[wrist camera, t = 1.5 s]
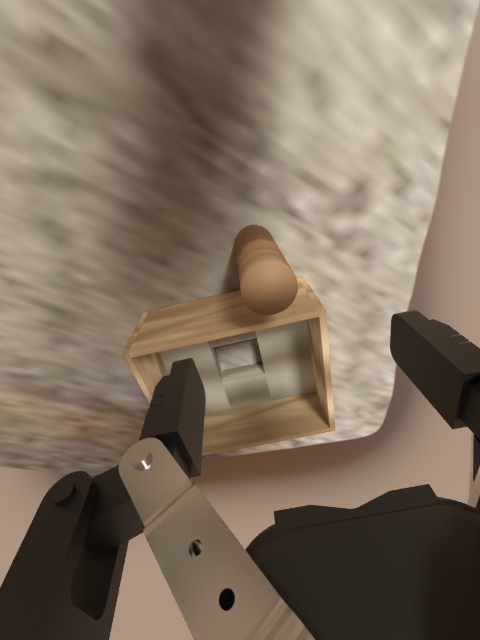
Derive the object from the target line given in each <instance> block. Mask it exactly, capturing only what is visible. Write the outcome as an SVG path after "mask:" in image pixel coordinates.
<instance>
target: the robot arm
mask: <svg viewBox="0 0 480 640" xmlns="http://www.w3.org/2000/svg"><path fill="white" fill-rule="evenodd" d="M390 350H391V354H392V357H393V359H394V360H395V362H396V363H397V364H398V366H399V367H400V368H401V369H402V370H403V371H404V373H405V374H406V375H407V376H408V377H409V378H410V380H411V381H412V382H413V383H414V384H415V385H416V387H417V388H418V389H419V390H420V391H421V393H422V394H423V395H424V396H425V397H426V398H427V400H428V401H429V402H430V403H431V404H432V406H433V407H434V408H435V409H436V410H437V411H438V413H439V414H440V415H441V416H442V417H443V419H444V420H445V421H446V422H447V423H448V424H449V426H450V427H451V428H452V429H456V428H462V427H467V426H468V428H469V429H470V430H471V431H472V435H471V452H470V490H469V498H468V503H467V504H465V503H462V502H458V501H455V500H451V499H446V498H441V497H437V496H436V494H435V493H434V491H433V490H432V488H431V487H430V485H429V484H427V485H421V486H415V487H409V488H404V489H398V490H392V491H389V492H387V493H385V494H383V495H381V496H379V497H377V498H375V499H373V500H371V501H369V502H368V503H366V504H364V505H362V506H360V507H358V508H355V509H346V508H336V507H326V506H316V505H307V506H302V507H296V508H290V509H284V510H279V511H274V517H275V524H274V525H272V526H270V527H268V528H267V529H266V530H264V531H263V532H261V533H260V534H259V535H258V536H257V537H256V538H255V539H254V540H253V541H252V542H251V543H250V544H249V546H248V547H247V548H246V550H245V549H244V548H243V546H242V545H241V544H240V542H239V541H238V540H237V538H236V537H235V536H234V534H233V533H232V532H231V530H230V529H229V528H228V526H227V525H226V524H225V522H224V521H223V520H222V518H221V517H220V516H219V515H218V513H217V512H216V511H215V509H214V508H213V507H212V505H211V504H210V503H209V501H208V500H207V499H206V497H205V496H204V495H203V493H202V492H201V491H200V490H199V488H198V487H197V486H196V484H195V483H192V482H191V481H190V477H195V476H200V473H201V459H202V445H203V431H204V417H205V404H206V395H205V389H204V386H203V383H202V380H201V378H200V375H199V373H198V370H197V368H196V365H195V362H194V360H193V359H192V358H187V359H183V360H178V361H174V362H173V363H172V367H171V371H170V375H167V376H163V377H162V378H161V380H160V381H159V382H158V384H157V385H156V386H155V389H154V392H153V396H152V399H151V402H150V408H149V409H148V413H147V416H146V419H145V423H144V426H143V429H142V433H141V436H140V439H139V441H138V442H137V443H135V444H134V445H132V446H131V447H130V448H129V449H128V450H127V451H126V452H125V454H124V455H123V457H122V458H121V461H120V464H119V465H118V466H116V467H114V468H112V469H110V470H108V471H106V472H104V473H102V474H100V475H98V476H96V477H94V478H91V477H90V476H89V474H88V473H86V472H84V471H77V472H73V473H70V474H68V475H66V476H65V477H63V478H62V479H60V480H59V481H58V482H56V483H55V484H54V485H53V486H52V487H51V488H50V490H49V491H48V492H47V493H46V495H45V496H44V498H43V500H42V502H41V504H40V506H39V508H38V510H37V512H36V514H35V517H34V518H33V521H32V523H31V525H30V527H29V529H28V531H27V533H26V535H25V538H24V539H23V541H22V544H21V546H20V548H19V550H18V552H17V554H16V556H15V558H14V560H13V562H12V564H11V566H10V569H9V571H8V573H7V575H6V577H5V579H4V581H3V583H2V586H1V587H0V640H109V637H110V632H111V627H112V622H113V617H114V612H115V607H116V602H117V597H118V592H119V587H120V582H121V577H122V572H123V566H124V562H125V557H126V552H127V546H128V542H129V540H130V539H132V538H134V537H135V536H137V535H139V534H141V533H143V532H144V534H145V536H146V538H147V541H148V543H149V545H150V547H151V549H152V551H153V553H154V556H155V558H156V560H157V562H158V564H159V566H160V568H161V571H162V573H163V575H164V577H165V579H166V581H167V583H168V585H169V588H170V590H171V591H172V594H173V596H174V598H175V600H176V602H177V604H178V606H179V609H180V611H181V613H182V615H183V617H184V619H185V621H186V623H187V626H188V628H189V630H190V632H191V634H192V636H193V638H194V640H480V348H478V347H477V346H476V345H474V344H473V343H472V342H469V340H468V339H466V338H465V337H464V336H462V335H459V333H458V332H457V331H455V330H454V329H453V328H451V327H450V326H449V325H447V324H444V323H441V322H439V321H436V320H433V319H432V320H428V319H427V318H426V317H425V316H423V315H422V314H421V313H419V312H418V311H417V310H411V311H407V312H402V313H398V314H394V315H393V316H392V319H391V338H390Z"/></svg>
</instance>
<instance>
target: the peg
mask: <svg viewBox="0 0 480 640" xmlns="http://www.w3.org/2000/svg"><path fill="white" fill-rule="evenodd" d="M235 252H236V259H237V267H238V274H239V282H240V290H241V296H242V299H243V302H244V303H245V305H246V306H247V307H248V308H249V309H250V310H252V311H253V312H255V313H258V314H261V315H273V314H277V313H280V312H282V311H284V310H285V309H287V308H288V307H289V306H290V305H291V304H292V303H293V301H294V299H295V298H296V295H297V291H298V282H297V279H296V276H295V274H294V273H293V271H292V269H291V268H290V266H289V265H288V263H287V261H286V260H285V258H284V256H283V255H282V253H281V251H280V250H279V248H278V246H277V245H276V243H275V241H274V240H273V238H272V236H271V235H270V233H269V232H268V231H267V230H266V229H265V228H263V227H261V226H258V225H250V226H247V227H245V228H243V229H242V230H241V231H240V232H239V233H238V235H237V237H236V239H235Z"/></svg>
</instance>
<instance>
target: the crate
mask: <svg viewBox="0 0 480 640" xmlns="http://www.w3.org/2000/svg"><path fill="white" fill-rule="evenodd" d="M296 279H297V282H298V291H297V295H296V298H295V299H294V301H293V303H292V304H291V305H290V306H289V307H288V308H287V309H285V310H284V311H282V312H280V313H277V314H273V315H261V314H258V313H255V312H253V311H252V310H250V309H249V308H248V307H247V306H246V305H245V303H244V302H243V299H242V296H241V290H237V291H232V292H228V293H224V294H219V295H215V296H211V297H206V298H202V299H198V300H193V301H189V302H184V303H180V304H176V305H171V306H167V307H163V308H158V309H154V310H150V311H145V312H143V314H142V316H141V318H140V320H139V322H138V324H137V326H136V328H135V330H134V332H133V334H132V336H131V338H130V340H129V342H128V344H127V346H126V348H125V350H124V352H123V354H122V355H123V357H124V358H125V360H126V362H127V364H128V366H129V368H130V369H131V371H132V373H133V375H134V377H135V378H136V380H137V382H138V384H139V386H140V388H141V389H142V391H143V393H144V395H145V397H146V398H147V400H148V402H149V404H150V402H151V399H152V396H153V392H154V389H155V386H156V385H157V384H158V382H159V381H160V380H161V378H162V377H163V376H167V375H170V371H171V367H172V363H173V362H174V361H178V360H183V359H187V358H192V359H193V360H194V362H195V365H196V368H197V370H198V373H199V375H200V378H201V380H202V383H203V386H204V389H205V395H206V404H205V417H204V431H203V445H202V456H205V455H210V454H215V453H221V452H226V451H231V450H236V449H242V448H247V447H252V446H257V445H263V444H268V443H273V442H278V441H283V440H289V439H294V438H299V437H304V436H310V435H315V434H320V433H325V432H331V431H335V420H334V408H333V396H332V383H331V371H330V359H329V347H328V334H327V322H326V310H325V308H324V307H323V305H322V304H321V302H320V301H319V299H318V298H317V296H316V295H315V293H314V292H313V290H312V289H311V287H310V286H309V284H308V283H307V281H306V280H305V278H304V277H303V275H302V276H298V277H296ZM255 338H257V341H258V345H259V349H260V354H261V358H262V363H258V364H253V365H248V366H243V367H239V368H234V369H229V370H224V371H222V369H221V366H220V363H219V360H218V357H217V354H216V351H215V348H214V347H218V346H223V345H227V344H232V343H236V342H241V341H246V340H250V339H255Z"/></svg>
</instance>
